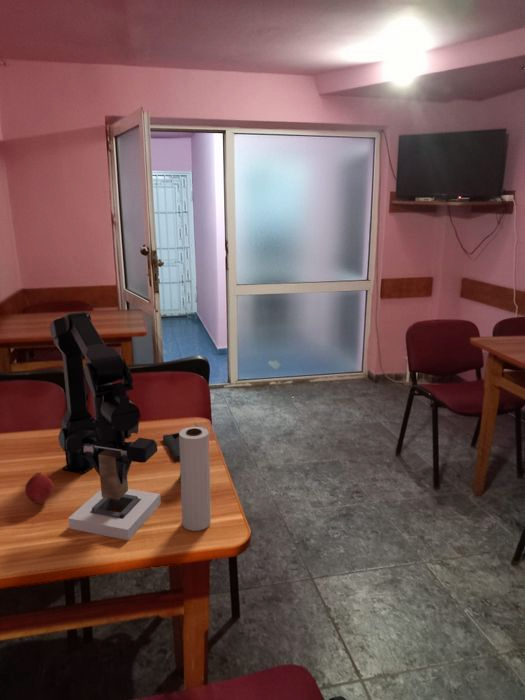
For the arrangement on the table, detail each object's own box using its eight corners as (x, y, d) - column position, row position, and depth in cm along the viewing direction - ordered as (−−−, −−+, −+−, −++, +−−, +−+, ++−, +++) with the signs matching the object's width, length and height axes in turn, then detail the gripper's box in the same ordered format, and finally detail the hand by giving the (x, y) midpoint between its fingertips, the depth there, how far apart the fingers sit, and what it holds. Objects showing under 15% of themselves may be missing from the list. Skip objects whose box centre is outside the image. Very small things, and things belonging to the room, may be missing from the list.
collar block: (69, 528, 109) (68, 515, 108) (106, 494, 122) (105, 482, 121) (128, 540, 105) (127, 527, 104) (160, 503, 118) (160, 492, 117)
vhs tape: (204, 457, 141) (204, 451, 141) (175, 463, 138) (175, 456, 137) (189, 437, 154) (189, 430, 153) (163, 441, 151) (163, 435, 150)
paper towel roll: (198, 535, 107) (196, 440, 101) (176, 525, 110) (172, 433, 104) (219, 518, 113) (218, 427, 107) (197, 509, 116) (195, 421, 110)
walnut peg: (101, 497, 111) (98, 454, 108) (112, 487, 114) (108, 446, 112) (118, 500, 110) (115, 457, 107) (128, 490, 113) (125, 448, 111)
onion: (28, 513, 114) (24, 480, 112) (26, 500, 119) (22, 468, 117) (56, 506, 117) (52, 474, 115) (53, 494, 122) (49, 463, 120)
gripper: (167, 405, 112) (170, 470, 116) (92, 395, 117) (97, 458, 121) (142, 425, 102) (146, 495, 106) (60, 414, 107) (67, 481, 111)
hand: (114, 481), depth 111 cm, fingers closed on walnut peg, 4 cm apart
